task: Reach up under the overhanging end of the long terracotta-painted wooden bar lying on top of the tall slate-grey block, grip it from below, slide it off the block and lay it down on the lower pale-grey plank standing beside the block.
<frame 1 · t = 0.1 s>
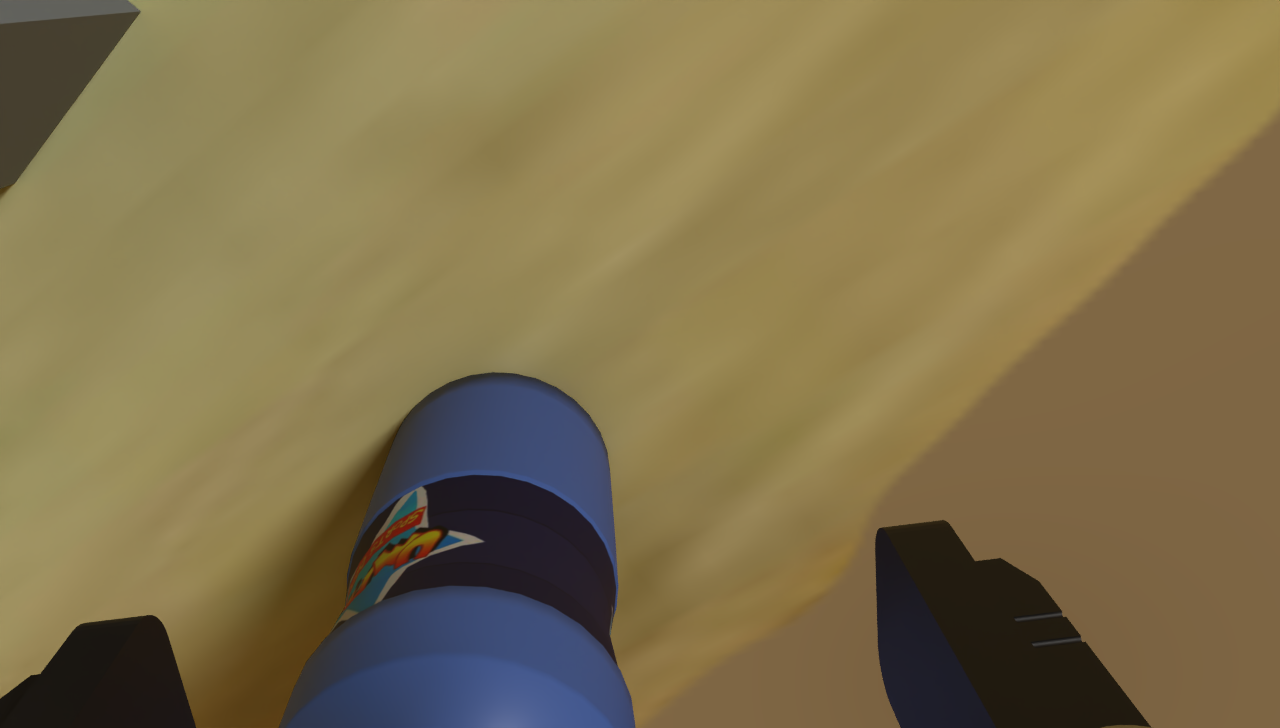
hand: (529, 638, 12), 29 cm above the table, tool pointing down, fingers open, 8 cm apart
water bottle: (500, 472, 44), on the table
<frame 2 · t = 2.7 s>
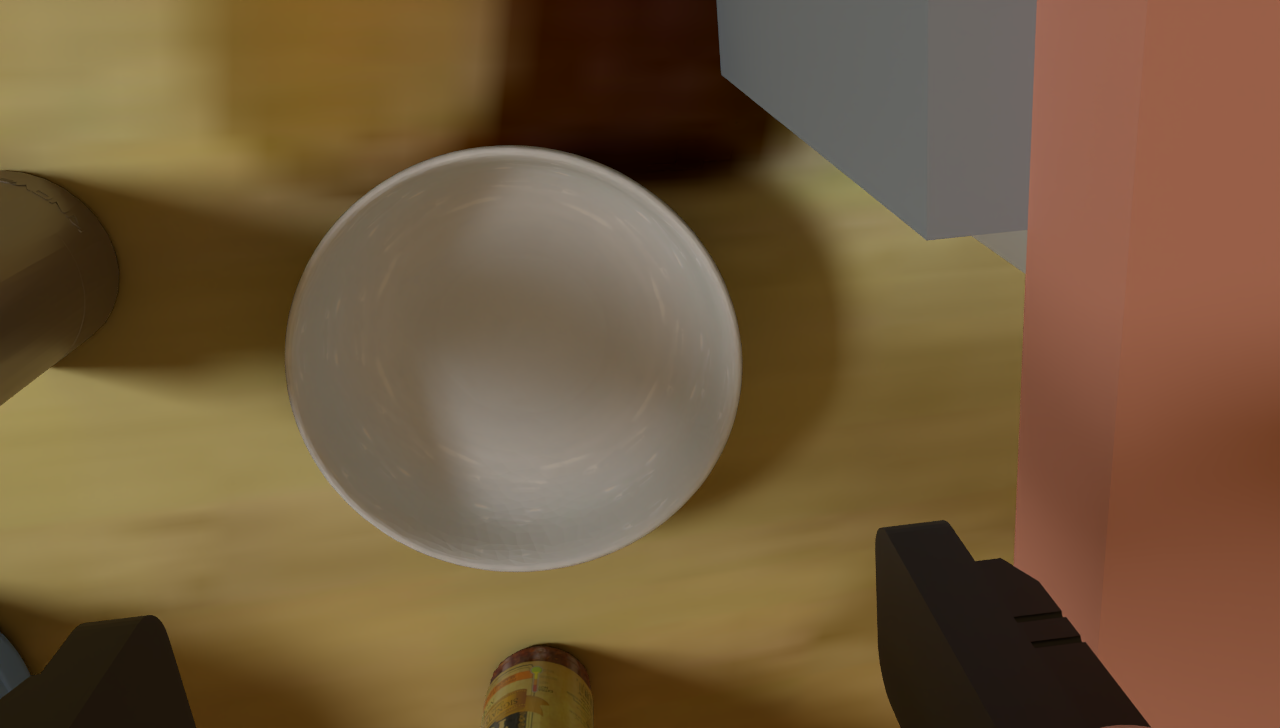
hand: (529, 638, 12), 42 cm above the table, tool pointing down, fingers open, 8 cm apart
bar: (1140, 60, 20), point 32 cm above the table, touching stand
sauce bottle: (539, 684, 63), on the table
serving bowl: (524, 328, 55), on the table
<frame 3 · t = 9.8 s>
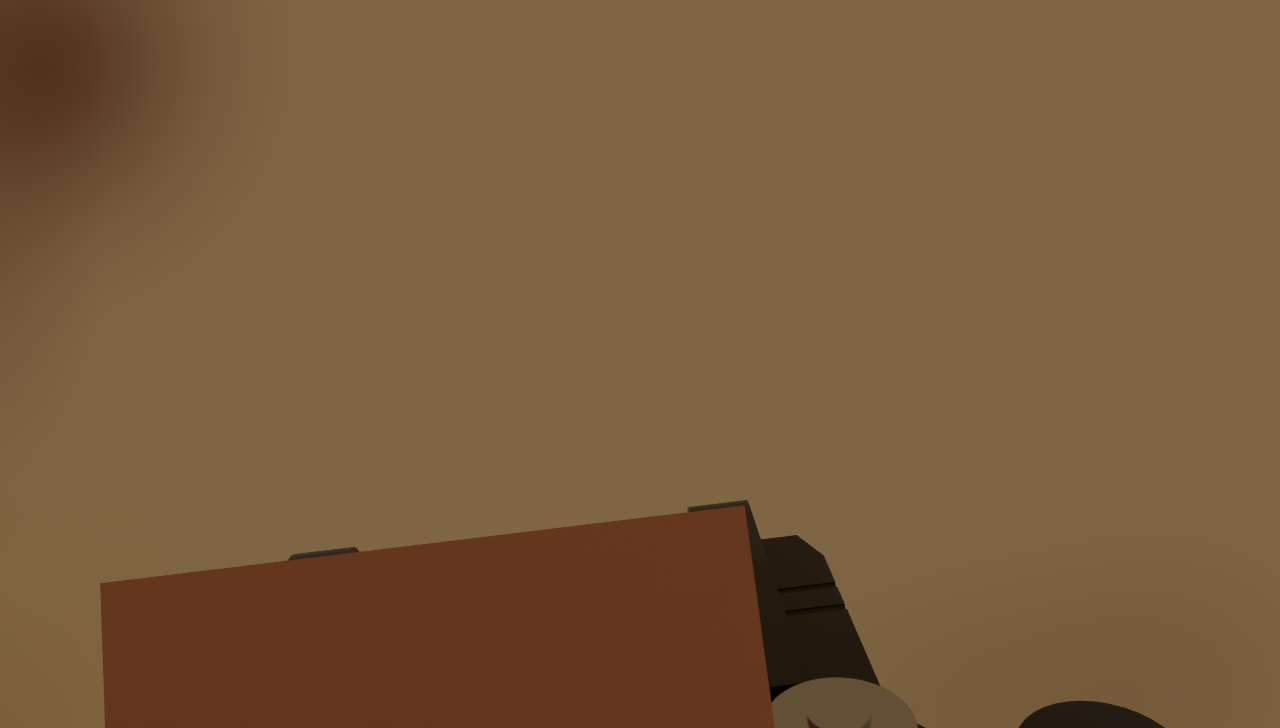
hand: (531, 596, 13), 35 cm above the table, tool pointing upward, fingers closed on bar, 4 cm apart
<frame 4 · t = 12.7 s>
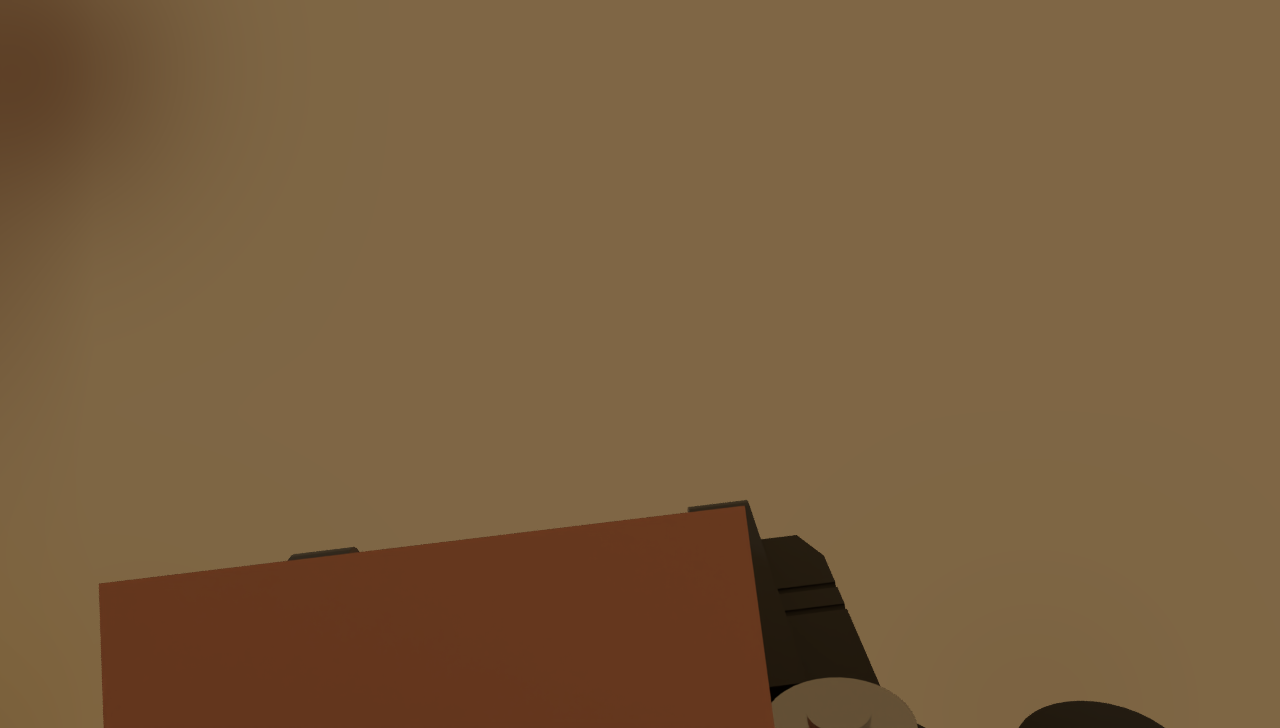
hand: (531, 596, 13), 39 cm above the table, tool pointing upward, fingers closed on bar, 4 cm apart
when the fingers open (26 cm above the table, at t = 15.5 s): bar stays where it is, resting on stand.
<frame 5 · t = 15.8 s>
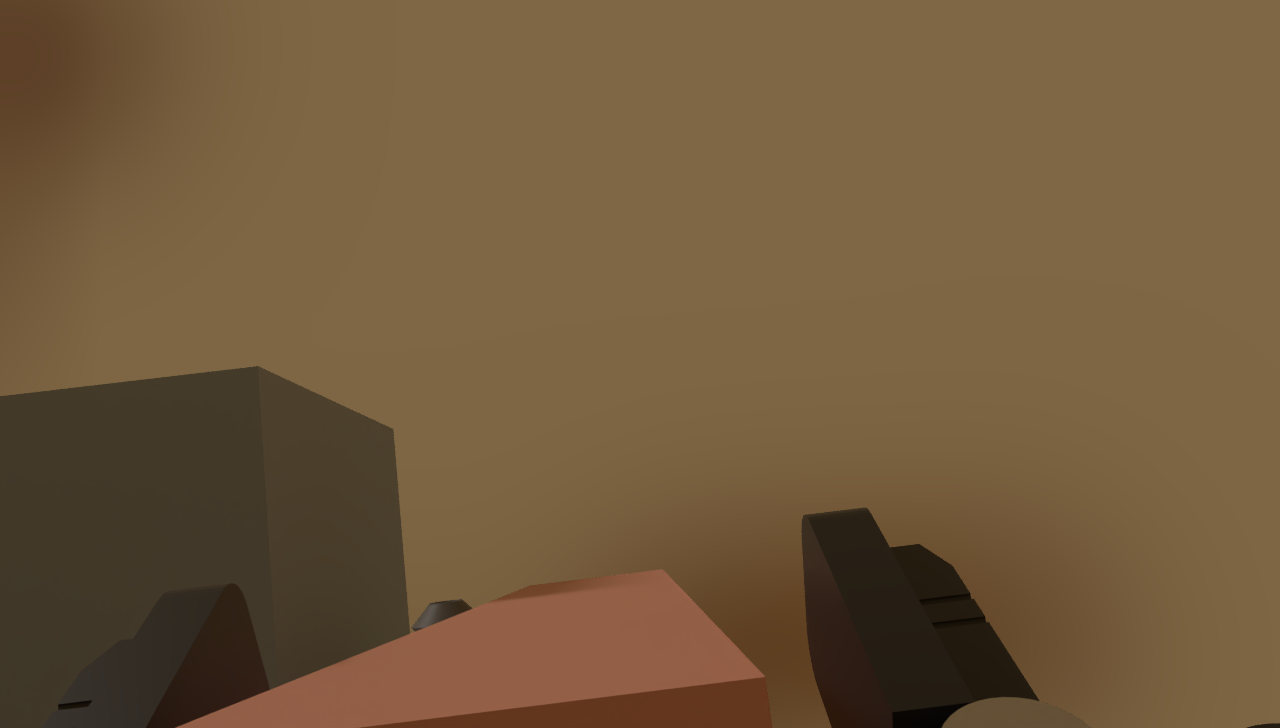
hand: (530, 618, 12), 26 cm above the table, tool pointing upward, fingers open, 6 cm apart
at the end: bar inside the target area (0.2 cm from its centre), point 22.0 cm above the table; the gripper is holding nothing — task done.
